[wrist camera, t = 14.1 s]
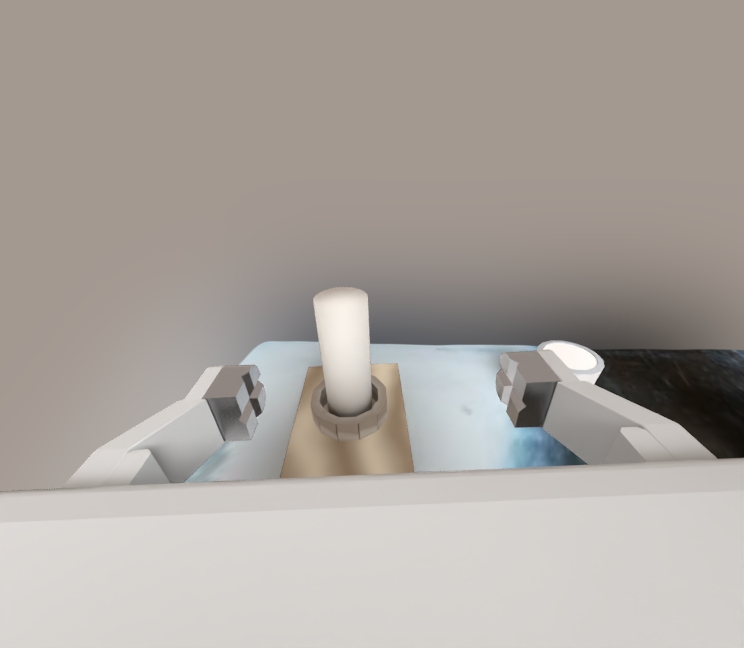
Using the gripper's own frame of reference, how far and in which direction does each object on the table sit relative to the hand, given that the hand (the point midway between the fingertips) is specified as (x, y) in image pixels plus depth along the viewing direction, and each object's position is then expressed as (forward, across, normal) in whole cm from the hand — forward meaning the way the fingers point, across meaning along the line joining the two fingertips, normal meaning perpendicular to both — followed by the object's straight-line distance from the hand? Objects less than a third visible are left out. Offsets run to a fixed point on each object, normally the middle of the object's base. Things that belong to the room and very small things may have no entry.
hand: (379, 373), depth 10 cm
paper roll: (+19, +4, +21) cm, 28 cm away
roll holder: (+19, +4, +22) cm, 29 cm away
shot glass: (+21, -22, +23) cm, 38 cm away
